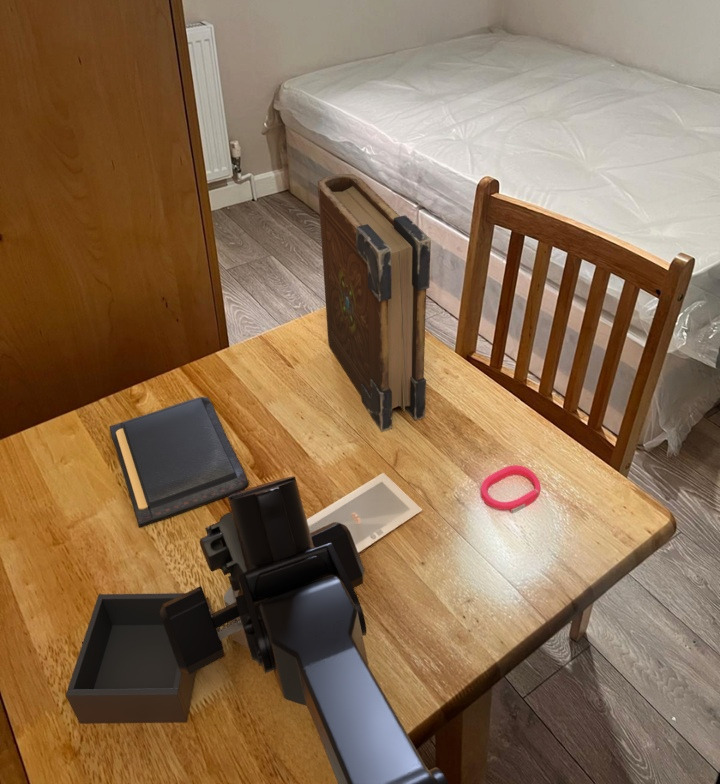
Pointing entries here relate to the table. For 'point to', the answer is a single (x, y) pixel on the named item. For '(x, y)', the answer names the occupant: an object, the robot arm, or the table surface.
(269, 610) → the robot arm
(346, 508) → the white grey flat rectangle
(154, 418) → the wallet
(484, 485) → the fitness band
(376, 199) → the decorative book
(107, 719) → the open storage box
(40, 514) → the table surface
